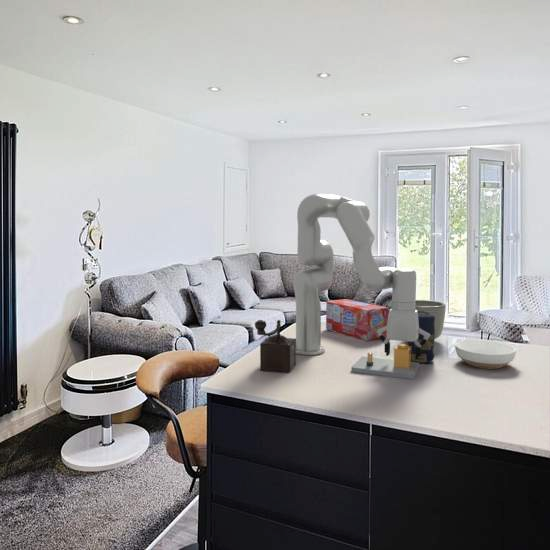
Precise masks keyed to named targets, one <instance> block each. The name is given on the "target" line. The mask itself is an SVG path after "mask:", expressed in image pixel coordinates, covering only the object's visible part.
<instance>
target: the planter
mask: <svg viewBox="0 0 550 550" xmlns="http://www.w3.org/2000/svg"><path fill="white" fill-rule="evenodd" d="M415 310H417V312H418V311H424V312H428V313H430V314H433V315H434V316H435V338H434V341H435V340H436V339H438V338H439V337H440V336H441V335H442V333H443V330H444V324H445V318H446V303H444V302H442V301H438V300H437V301H436V300H431V299H428V300H427V299H416V304H415Z"/></svg>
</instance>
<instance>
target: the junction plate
mask: <svg viewBox="0 0 550 550" xmlns="http://www.w3.org/2000/svg"><path fill="white" fill-rule="evenodd" d="M367 361H368V356H363V355H362V356H361V357H360V358H359V359H358V360H357V361H355V363H354V364H353V365H352V366H351V368H350V369H351V370H350V372H352V373H359V374H366V375H367V374H368V375H374V376H383V377H388V378H389V377H390V378H398V379H399V378H400V379H404V380H405V379H406V380H414V379H415V377H416V375H417V373H418V371H419V369H420V366H421V365H420V364H421V363H418V362H413V361H411V365H410V366H409V368H404V367H396V366H394V359H388V358H380V357H372V362H373V366H368V365H367Z"/></svg>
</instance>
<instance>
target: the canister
mask: <svg viewBox="0 0 550 550" xmlns="http://www.w3.org/2000/svg"><path fill="white" fill-rule="evenodd" d="M418 319H419V328H420V329H422V330H424V331H426V332H427V333H429V334H430V337H429V338H428V340H427V342H426V343H425V344H424V345H422V346H421V356H419V358H418V359H415V356H416V346H417V345H416V344H415V343H414V342H407V341H406V345H408V346H409V347H411V362H416V363H420V364H421V363H422V364H425V363H426V364H427V363H430V362H432V361H433V360H434V358H435V340H434V338H435V316H434V315H433V314H430V313H428V312H424V311H418ZM424 337H425V336H424V335H422V334H420V333H419V337H418V339H419V340H420V341H422V340H423V339H424Z"/></svg>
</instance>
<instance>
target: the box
mask: <svg viewBox="0 0 550 550" xmlns="http://www.w3.org/2000/svg"><path fill="white" fill-rule="evenodd" d="M325 310H326V311H325V312H326V314H325V315H326V316H325V320H326V321H325V330H327V331H330V332H334V333H337V334H341V335H344V336H348V337H351V338H354V339H358V340H360V341H363V342H364V341H365V342H369V341H374V340H379V339H380V337H379V335H378V333H377V330H378V329H380V328H382V327H385V326H387V321H388V314H389V307H387V306H384V305H383V306H382V305H377V304H372V303H366V302H362V301H357V300H353V299H347V298H343V299H335V300H327V301H326V309H325ZM382 333H383V335H384V336H385V337H386V338H387V330H386V331H383V332H382ZM380 340H381V339H380Z"/></svg>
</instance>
